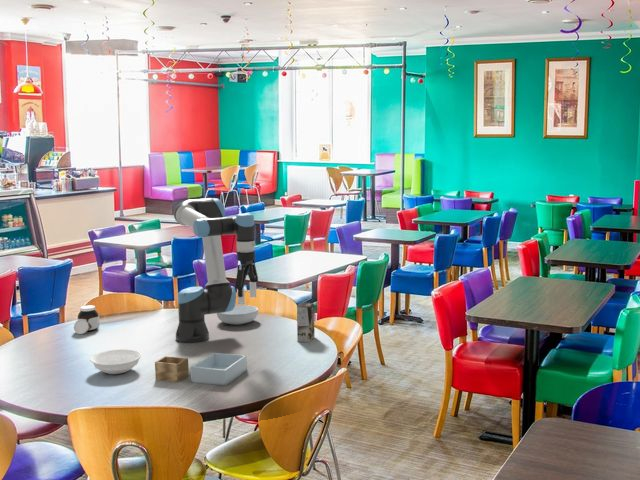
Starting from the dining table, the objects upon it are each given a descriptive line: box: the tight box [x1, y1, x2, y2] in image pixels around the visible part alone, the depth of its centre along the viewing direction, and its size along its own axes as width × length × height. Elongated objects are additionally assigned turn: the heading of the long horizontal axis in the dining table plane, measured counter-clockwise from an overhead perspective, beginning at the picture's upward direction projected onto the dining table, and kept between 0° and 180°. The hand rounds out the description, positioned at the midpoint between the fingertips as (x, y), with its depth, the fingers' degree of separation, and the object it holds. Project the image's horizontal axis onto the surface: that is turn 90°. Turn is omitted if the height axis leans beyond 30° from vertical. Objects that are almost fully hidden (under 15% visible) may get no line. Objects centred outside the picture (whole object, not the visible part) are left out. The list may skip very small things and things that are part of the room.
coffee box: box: [296, 302, 316, 343], centre depth 346 cm, size 9×6×16 cm
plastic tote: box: [190, 352, 248, 387], centre depth 297 cm, size 14×19×6 cm
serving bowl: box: [216, 304, 259, 326], centre depth 378 cm, size 21×21×7 cm
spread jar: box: [73, 304, 100, 335], centre depth 365 cm, size 12×11×12 cm
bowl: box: [90, 349, 142, 375], centre depth 304 cm, size 20×20×6 cm
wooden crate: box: [154, 355, 190, 383], centre depth 296 cm, size 10×8×7 cm
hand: (247, 300), depth 321 cm, fingers open, 13 cm apart
